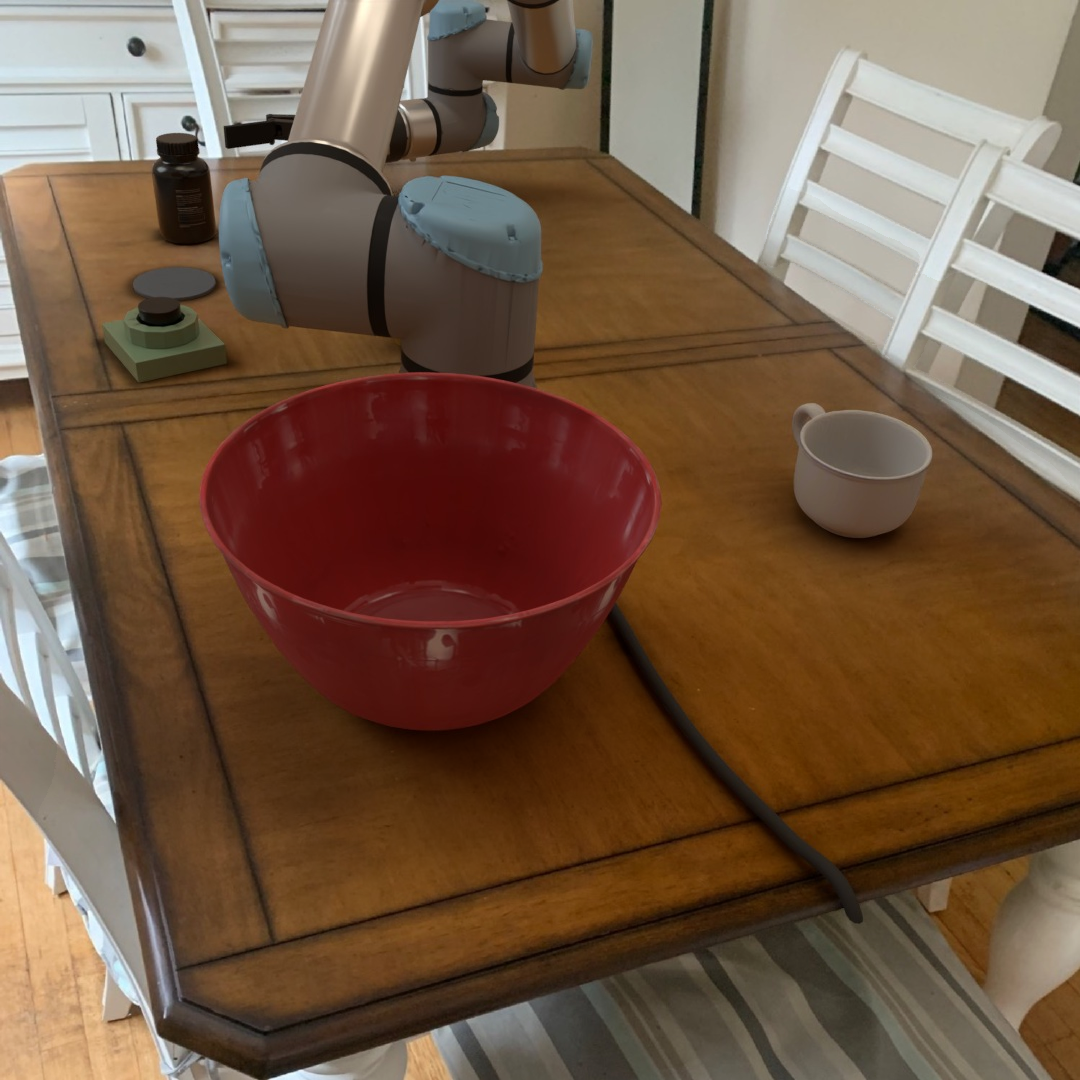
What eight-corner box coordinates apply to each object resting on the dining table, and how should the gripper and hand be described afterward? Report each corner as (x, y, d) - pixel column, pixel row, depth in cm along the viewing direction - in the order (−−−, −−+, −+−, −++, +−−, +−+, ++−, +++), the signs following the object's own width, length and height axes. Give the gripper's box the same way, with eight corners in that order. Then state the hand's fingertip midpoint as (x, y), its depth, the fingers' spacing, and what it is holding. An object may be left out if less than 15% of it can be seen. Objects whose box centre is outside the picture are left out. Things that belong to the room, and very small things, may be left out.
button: (188, 324, 112) (186, 308, 111) (148, 332, 110) (146, 315, 109) (173, 309, 115) (171, 293, 114) (134, 317, 113) (131, 300, 112)
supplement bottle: (224, 229, 144) (215, 132, 137) (206, 248, 138) (195, 148, 131) (171, 223, 144) (159, 127, 137) (151, 242, 138) (137, 142, 132)
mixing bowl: (496, 893, 64) (512, 691, 55) (129, 696, 74) (92, 501, 65) (695, 629, 84) (729, 451, 75) (385, 505, 95) (383, 336, 86)
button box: (227, 364, 114) (223, 327, 111) (138, 383, 109) (132, 345, 107) (189, 326, 120) (185, 290, 118) (104, 343, 116) (98, 306, 113)
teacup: (932, 547, 96) (959, 466, 91) (819, 561, 93) (840, 479, 88) (851, 462, 106) (871, 386, 102) (747, 473, 103) (763, 395, 99)
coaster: (228, 292, 128) (227, 289, 128) (149, 307, 123) (149, 303, 123) (198, 265, 134) (197, 262, 133) (122, 278, 129) (121, 274, 129)
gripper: (446, 187, 147) (300, 212, 135) (348, 135, 162) (209, 154, 151) (447, 127, 142) (296, 149, 131) (346, 80, 158) (203, 96, 146)
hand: (249, 152), depth 141 cm, fingers open, 13 cm apart
